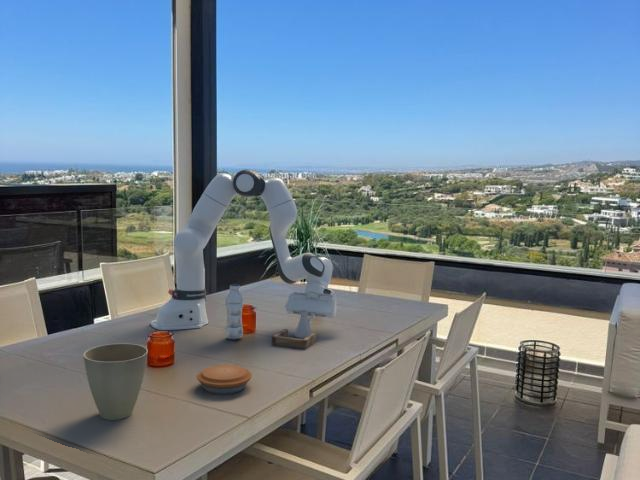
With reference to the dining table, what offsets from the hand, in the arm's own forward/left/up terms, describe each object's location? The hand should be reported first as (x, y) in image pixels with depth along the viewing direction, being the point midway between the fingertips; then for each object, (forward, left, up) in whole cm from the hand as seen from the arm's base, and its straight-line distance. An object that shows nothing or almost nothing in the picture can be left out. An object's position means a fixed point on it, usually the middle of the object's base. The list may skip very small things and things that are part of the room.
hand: (306, 324), depth 221 cm
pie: (-49, -36, -5) cm, 61 cm away
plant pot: (-80, -41, -5) cm, 91 cm away
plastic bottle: (-26, +8, -5) cm, 28 cm away
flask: (-2, -1, -5) cm, 5 cm away
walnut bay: (-8, -6, -4) cm, 11 cm away
